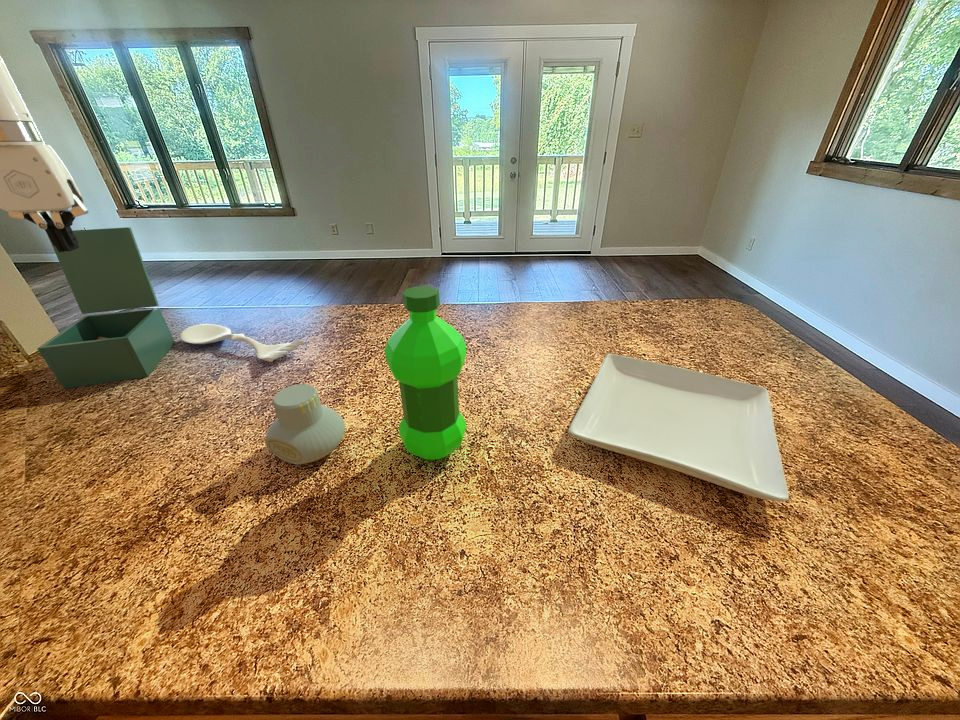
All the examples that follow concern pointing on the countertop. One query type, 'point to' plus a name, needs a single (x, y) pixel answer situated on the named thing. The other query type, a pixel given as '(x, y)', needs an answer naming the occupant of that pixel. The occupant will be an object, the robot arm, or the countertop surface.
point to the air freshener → (303, 426)
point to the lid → (107, 271)
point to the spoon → (218, 332)
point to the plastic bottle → (427, 376)
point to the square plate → (685, 424)
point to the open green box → (108, 347)
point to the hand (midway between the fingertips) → (69, 249)
